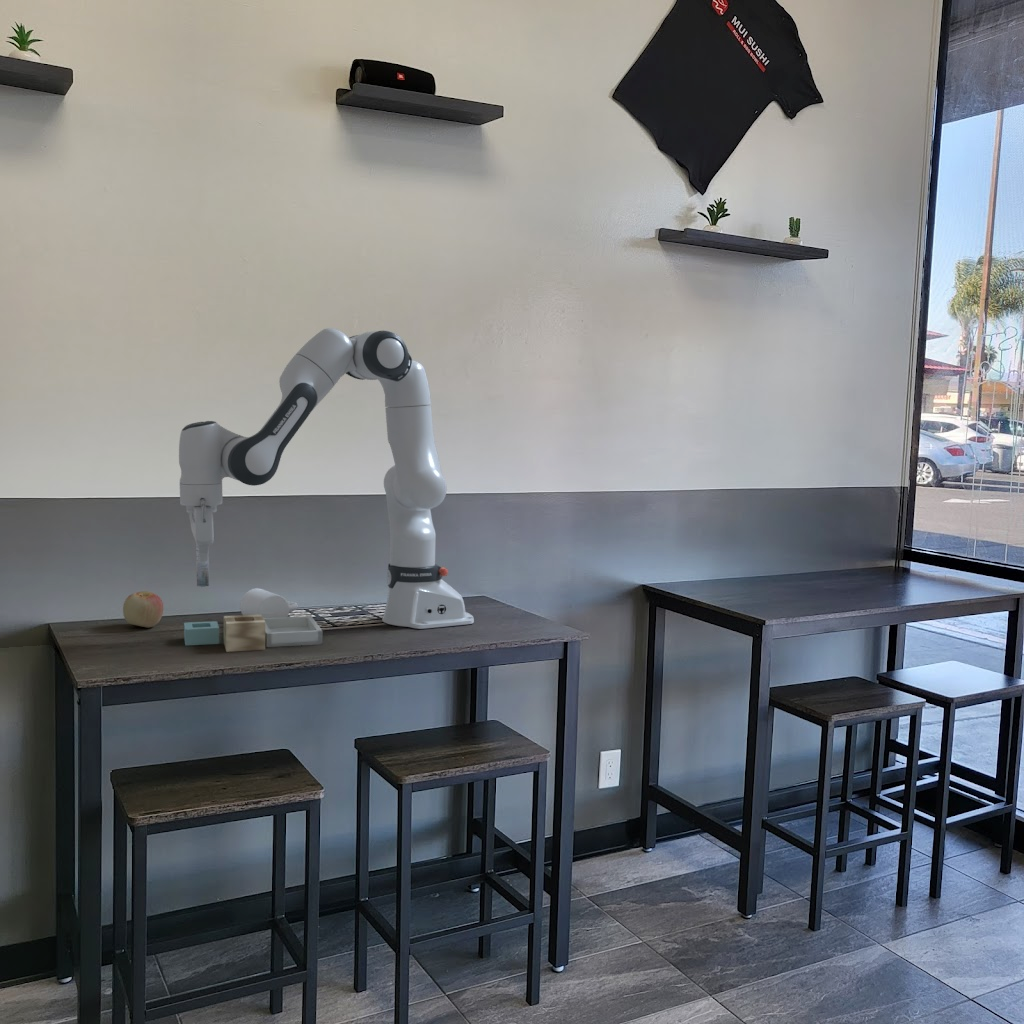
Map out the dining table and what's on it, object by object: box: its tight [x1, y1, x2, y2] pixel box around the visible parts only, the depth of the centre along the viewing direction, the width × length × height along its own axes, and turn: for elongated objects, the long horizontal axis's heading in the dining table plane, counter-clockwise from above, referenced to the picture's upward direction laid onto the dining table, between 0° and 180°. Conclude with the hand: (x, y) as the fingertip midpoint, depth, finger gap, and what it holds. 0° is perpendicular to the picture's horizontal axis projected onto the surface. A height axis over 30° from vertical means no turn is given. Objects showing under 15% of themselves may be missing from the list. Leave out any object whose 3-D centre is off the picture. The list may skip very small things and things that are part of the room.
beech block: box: [223, 614, 266, 653], centre depth 215 cm, size 8×8×6 cm
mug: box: [239, 587, 299, 618], centre depth 238 cm, size 12×10×8 cm
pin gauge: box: [195, 543, 210, 588], centre depth 217 cm, size 3×3×12 cm
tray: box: [263, 615, 323, 648], centre depth 224 cm, size 12×16×3 cm
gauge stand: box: [183, 620, 220, 646], centre depth 219 cm, size 7×7×4 cm
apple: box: [122, 590, 165, 628], centre depth 230 cm, size 9×9×8 cm
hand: (202, 559), depth 217 cm, fingers closed on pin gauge, 3 cm apart
